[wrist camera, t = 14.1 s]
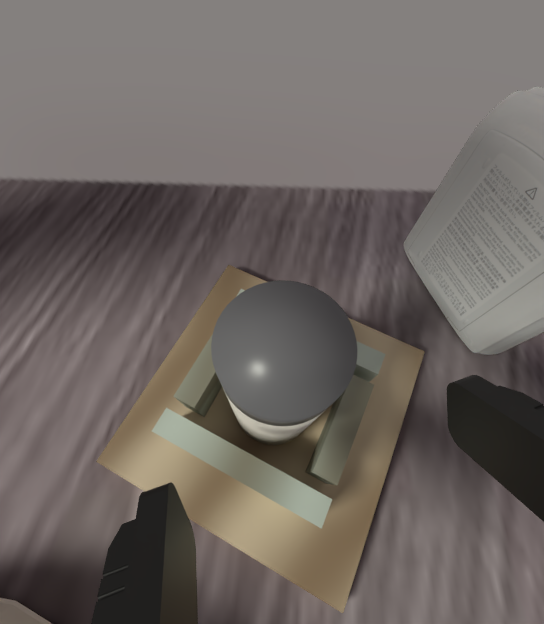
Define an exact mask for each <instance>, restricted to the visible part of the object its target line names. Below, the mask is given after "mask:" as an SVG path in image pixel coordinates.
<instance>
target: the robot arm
mask: <svg viewBox="0 0 544 624" xmlns="http://www.w3.org/2000/svg"><path fill="white" fill-rule="evenodd" d="M447 412H448V428H449V432H450V434H451V436H452V438H453V440H454V441H455V443H456V444H457V445H458V446H459V447H460V448H461V449H462V450H463V451H464V452H465V453H467V454H468V455H469V456H470V457H471V458H472V459H473V460H474V461H476V462H477V463H478V464H479V465H480V466H481V467H482V468H484V469H485V470H486V471H487V472H488V473H489V474H490V475H491V476H493V477H494V478H495V479H496V480H497V481H498V482H499V483H501V484H502V485H503V486H504V487H505V488H506V489H507V490H508V491H510V492H511V493H512V494H513V495H514V496H515V497H516V498H517V499H519V500H520V501H521V502H522V503H523V504H524V505H525V506H527V507H528V508H529V509H530V510H531V511H532V512H533V513H534V514H536V515H537V516H538V517H539V518H540V519H541V520H542V521H543V522H544V406H543V404H541V403H540V402H538V401H536V400H534V399H533V398H531V397H529V396H527V395H525V394H524V393H521V392H518V391H515V390H511V389H508V388H505V387H502V386H498V387H497V386H495V385H494V384H492V383H490V382H488V381H487V380H485V379H483V378H482V377H480V376H477V375H472V376H469V377H466V378H463V379H461V380H458V381H455V382H452V383H450V384H449V385H448V386H447ZM91 624H198V617H197V580H196V548H195V539H194V534H193V530H192V526H191V523H190V521H189V518H188V516H187V514H186V511H185V509H184V506H183V504H182V502H181V499H180V497H179V495H178V492H177V490H176V488H175V486H174V484H173V483H172V482H170V483H167V484H165V485H162V486H159V487H156V488H153V489H151V490H148V491H145V492H142V493H141V495H140V497H139V502H138V508H137V515H136V519H135V520H132V521H129V522H127V523H124V524H122V525H121V527H120V529H119V531H118V533H117V534H116V536H115V538H114V540H113V541H112V543H111V545H110V547H109V548H108V553H107V557H106V562H105V566H104V570H103V579H101V584H100V588H99V592H98V602H96V606H95V610H94V614H93V619H92V623H91Z"/></svg>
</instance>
